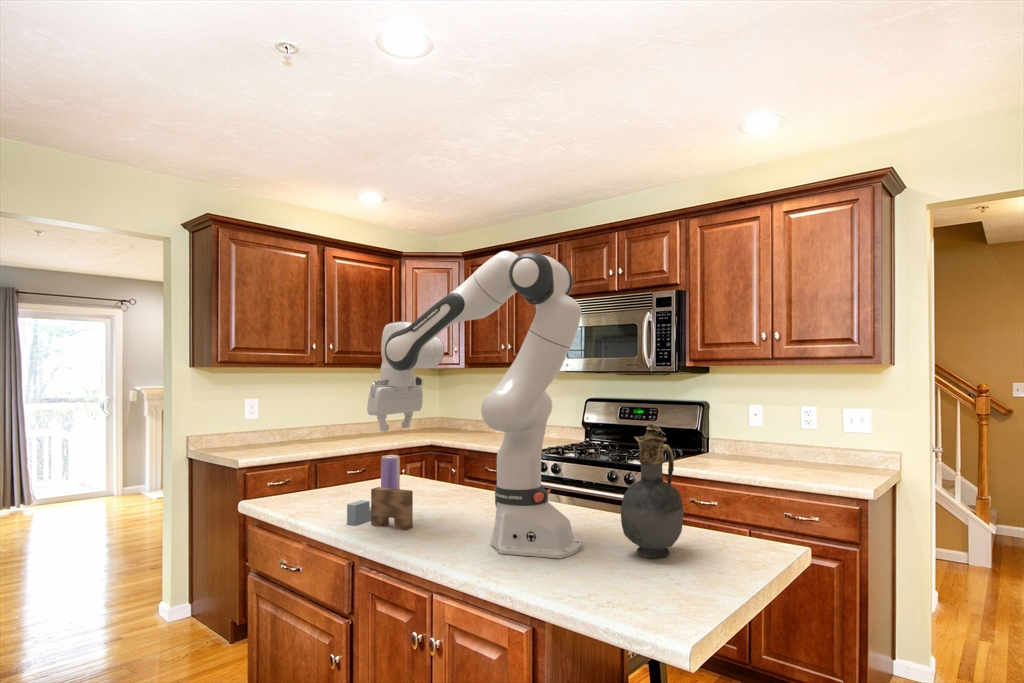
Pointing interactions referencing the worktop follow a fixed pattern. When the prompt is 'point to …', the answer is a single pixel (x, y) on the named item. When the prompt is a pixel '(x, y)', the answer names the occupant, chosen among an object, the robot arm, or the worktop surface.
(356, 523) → the notched grey block
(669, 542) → the pitcher
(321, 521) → the worktop surface
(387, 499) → the wooden bridge block
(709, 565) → the worktop surface
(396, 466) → the beverage can
